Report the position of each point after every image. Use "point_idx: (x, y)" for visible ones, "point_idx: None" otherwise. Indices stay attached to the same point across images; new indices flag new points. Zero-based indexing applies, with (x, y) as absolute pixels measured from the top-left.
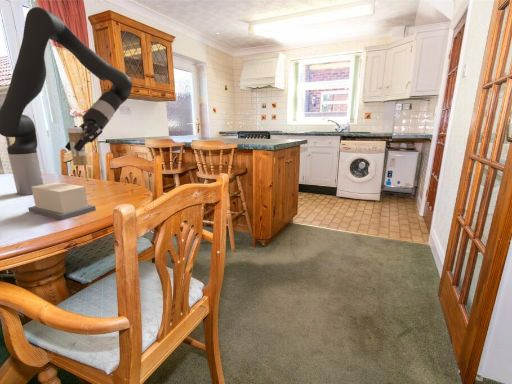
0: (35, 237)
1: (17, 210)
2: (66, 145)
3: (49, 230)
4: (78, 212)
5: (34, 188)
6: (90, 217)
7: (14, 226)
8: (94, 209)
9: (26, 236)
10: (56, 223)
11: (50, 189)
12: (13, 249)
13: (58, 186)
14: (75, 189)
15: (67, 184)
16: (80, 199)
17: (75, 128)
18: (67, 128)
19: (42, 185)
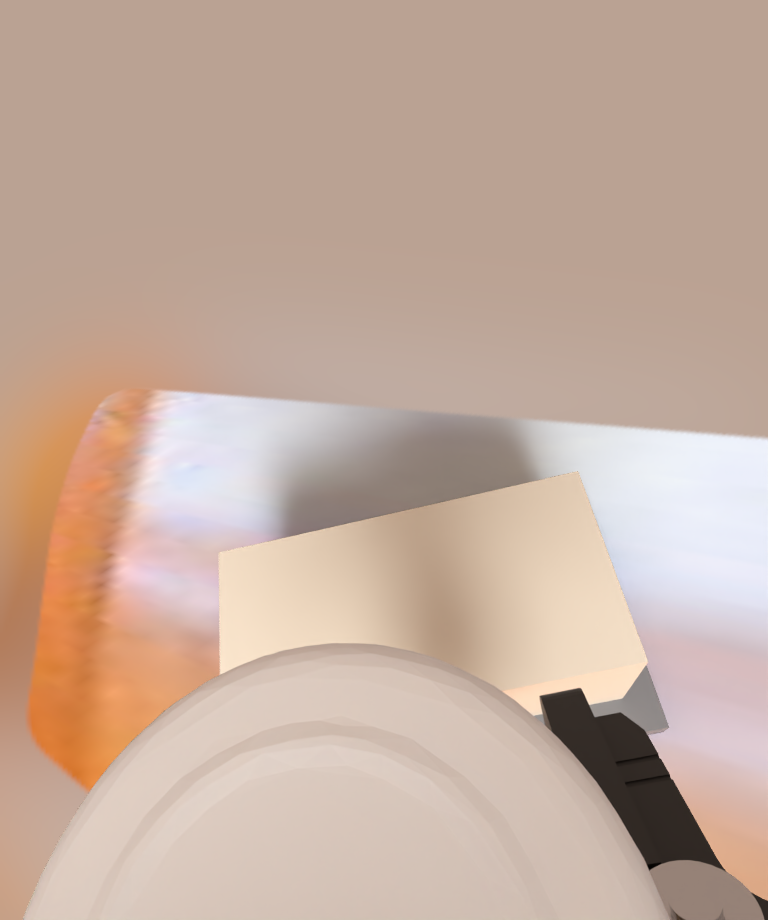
0: (144, 463)
1: (675, 482)
2: (560, 706)
3: (170, 514)
4: None
5: (535, 485)
6: (163, 709)
7: (355, 433)
8: None
9: (185, 445)
10: None
11: (350, 535)
12: (107, 404)
13: (415, 605)
14: (223, 664)
15: None
16: None
17: (48, 880)
18: (330, 644)
19: (567, 534)
